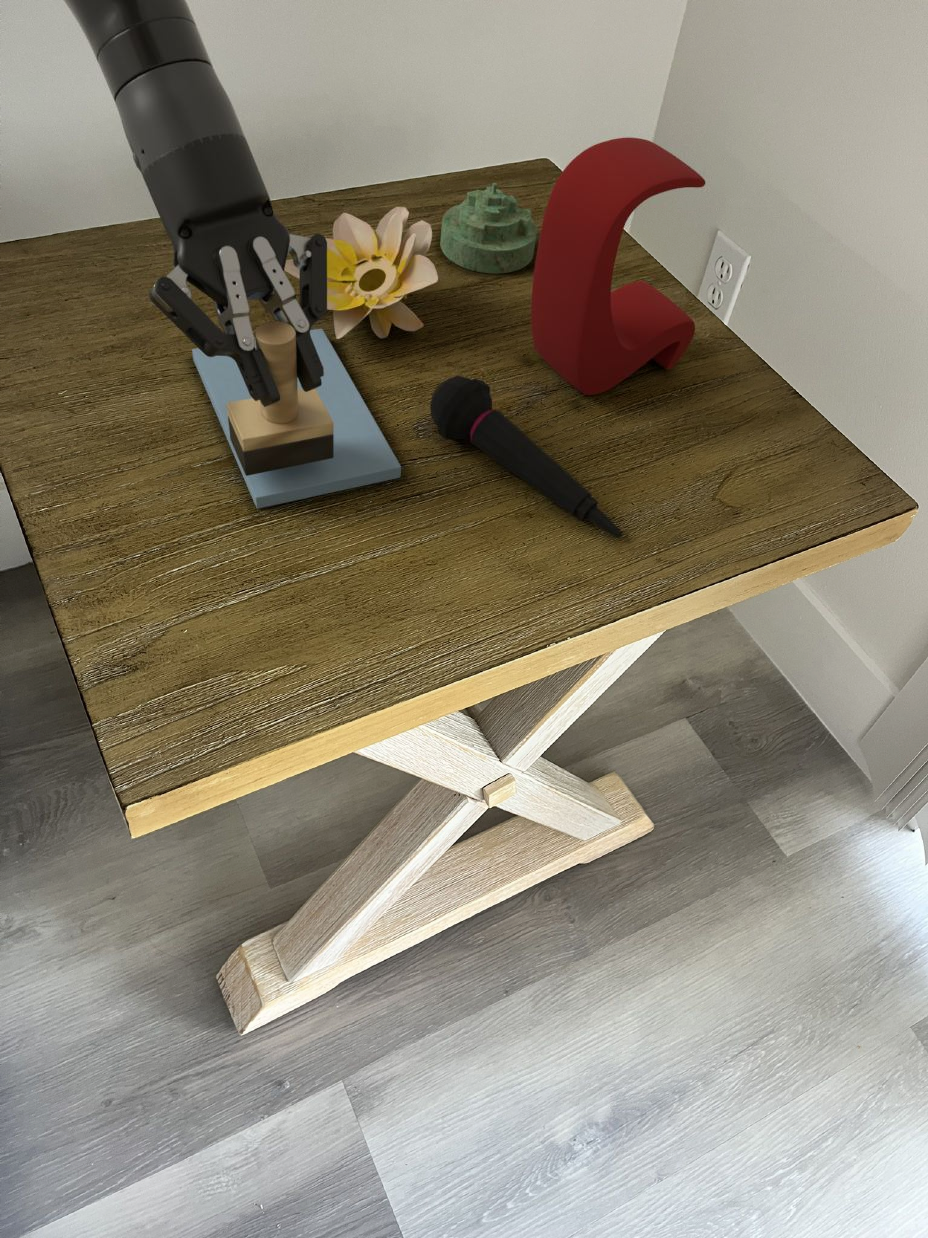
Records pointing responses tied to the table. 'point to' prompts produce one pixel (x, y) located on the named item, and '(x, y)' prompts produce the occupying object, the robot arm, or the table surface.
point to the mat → (355, 433)
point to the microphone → (509, 446)
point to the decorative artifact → (488, 233)
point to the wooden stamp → (280, 413)
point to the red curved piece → (604, 269)
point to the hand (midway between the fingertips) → (293, 394)
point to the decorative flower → (375, 271)
